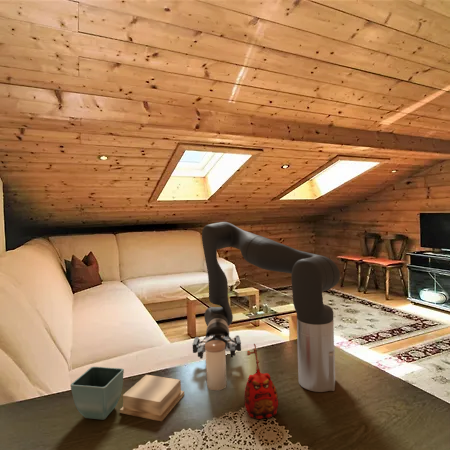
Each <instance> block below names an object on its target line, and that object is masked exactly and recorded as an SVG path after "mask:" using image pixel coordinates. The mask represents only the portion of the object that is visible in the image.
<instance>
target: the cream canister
mask: <svg viewBox="0 0 450 450" xmlns="http://www.w3.org/2000/svg"><path fill="white" fill-rule="evenodd" d="M205 350H206V352H205V366H206V367H205V368H206V369H205V370H206V387H207V389H208V390H211V391H222V390H224V389H225V388H226V387H227V381H228V380H227V364H226V363H227V362H226V361H227V360H226V351H225V342H223V341H220V340H212V341H209V342H207V343H205Z"/></svg>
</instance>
